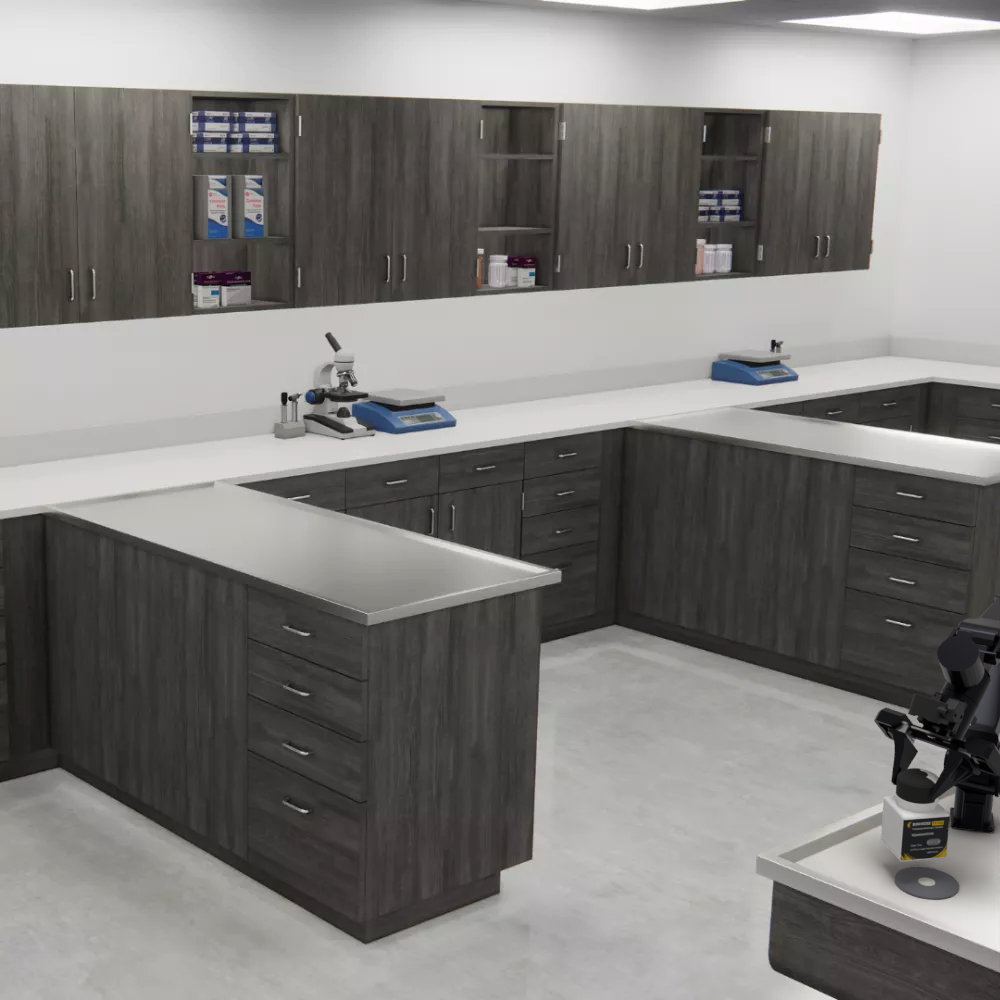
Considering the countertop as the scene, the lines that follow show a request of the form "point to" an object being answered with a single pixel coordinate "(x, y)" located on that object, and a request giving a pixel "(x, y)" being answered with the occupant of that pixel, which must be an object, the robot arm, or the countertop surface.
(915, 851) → the medicine bottle
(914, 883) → the pad
